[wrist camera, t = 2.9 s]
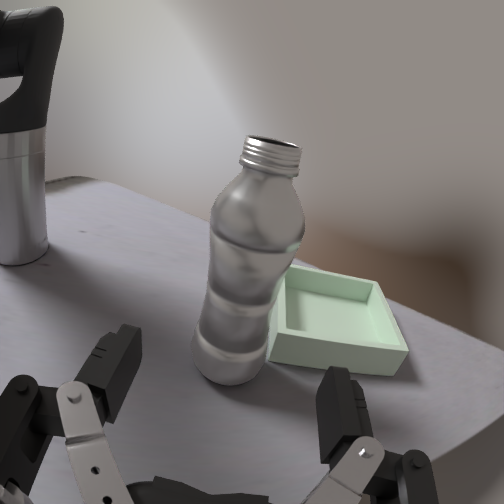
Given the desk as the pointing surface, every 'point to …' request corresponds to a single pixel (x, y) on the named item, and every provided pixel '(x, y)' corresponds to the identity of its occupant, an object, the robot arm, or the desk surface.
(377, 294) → the green tray
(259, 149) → the plastic bottle
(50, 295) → the desk surface
